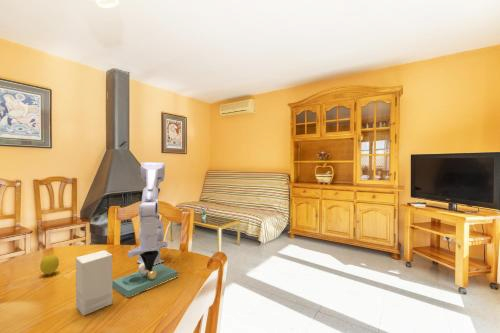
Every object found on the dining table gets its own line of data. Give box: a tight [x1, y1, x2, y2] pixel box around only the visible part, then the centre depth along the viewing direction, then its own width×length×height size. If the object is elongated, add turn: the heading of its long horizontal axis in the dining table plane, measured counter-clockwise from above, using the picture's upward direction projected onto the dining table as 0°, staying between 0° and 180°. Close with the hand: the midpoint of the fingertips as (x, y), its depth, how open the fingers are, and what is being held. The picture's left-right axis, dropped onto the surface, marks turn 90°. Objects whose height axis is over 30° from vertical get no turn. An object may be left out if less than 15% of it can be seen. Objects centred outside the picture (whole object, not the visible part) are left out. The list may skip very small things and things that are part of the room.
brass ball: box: [147, 270, 157, 280], centre depth 88 cm, size 3×3×3 cm
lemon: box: [39, 253, 60, 275], centre depth 95 cm, size 6×6×8 cm
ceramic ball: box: [138, 263, 145, 271], centre depth 94 cm, size 3×3×3 cm
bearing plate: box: [112, 263, 179, 298], centre depth 90 cm, size 19×11×2 cm, turn 143°
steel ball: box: [141, 267, 149, 277], centre depth 90 cm, size 3×3×3 cm
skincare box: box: [75, 249, 113, 317], centre depth 75 cm, size 8×7×16 cm
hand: (148, 271), depth 91 cm, fingers closed, pressing on steel ball
